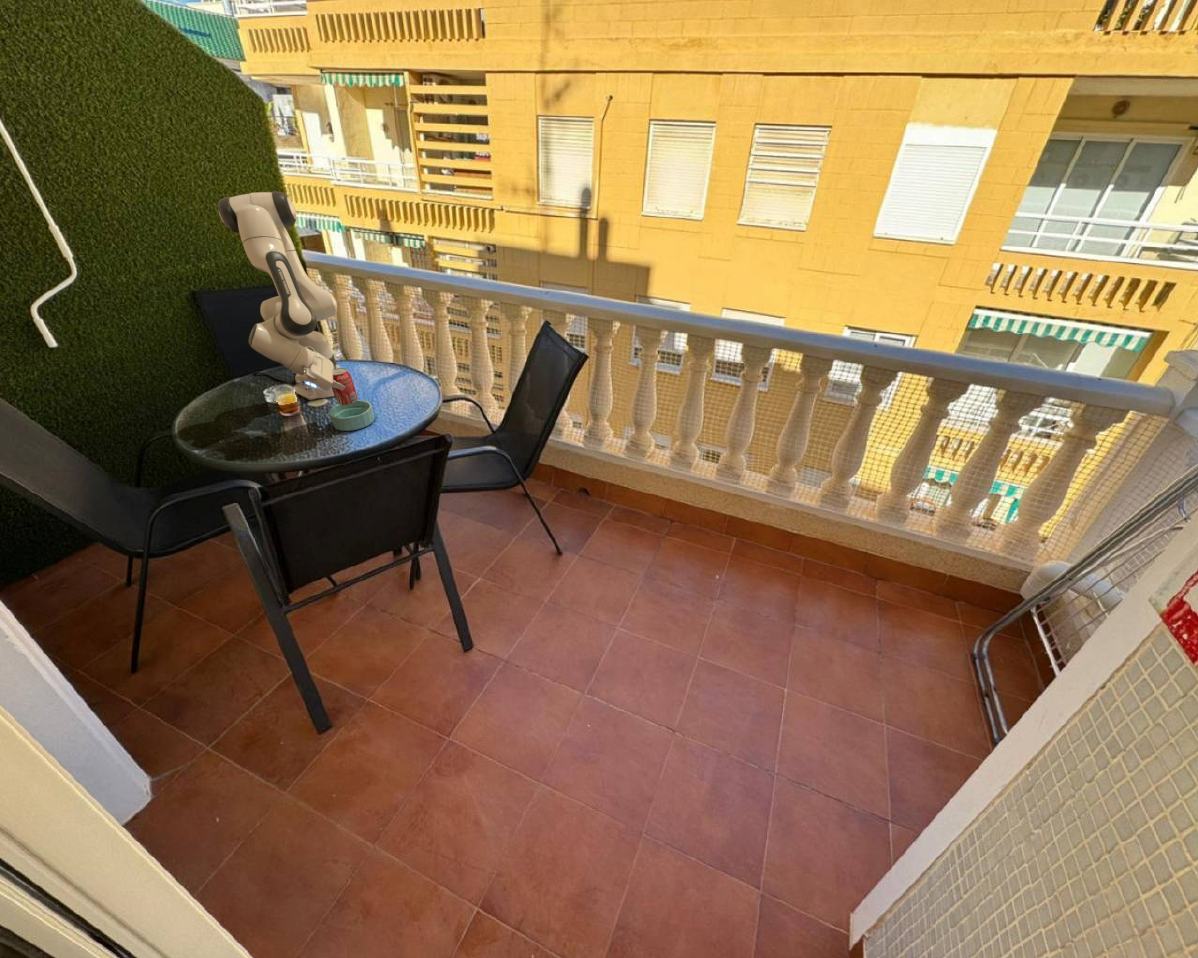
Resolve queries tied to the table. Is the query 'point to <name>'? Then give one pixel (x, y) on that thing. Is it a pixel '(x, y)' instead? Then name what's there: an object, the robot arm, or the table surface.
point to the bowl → (352, 415)
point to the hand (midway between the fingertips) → (344, 383)
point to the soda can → (348, 393)
